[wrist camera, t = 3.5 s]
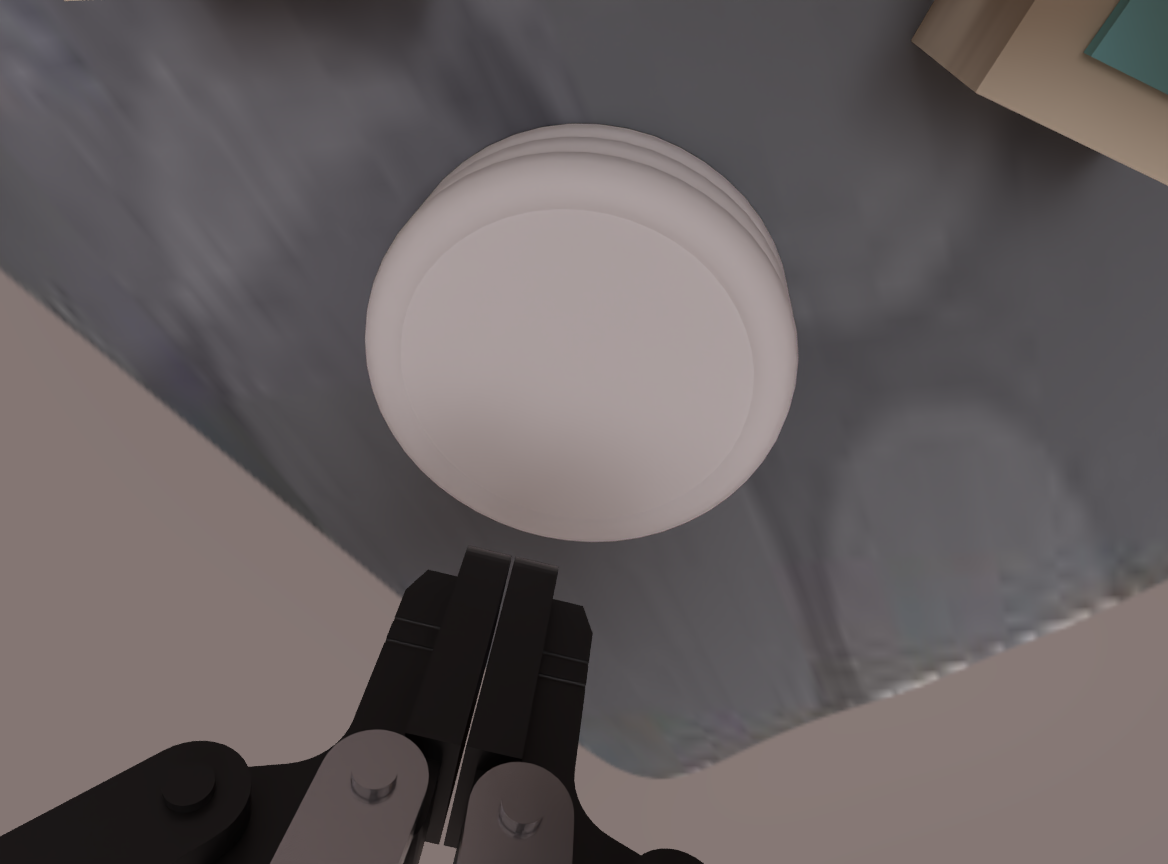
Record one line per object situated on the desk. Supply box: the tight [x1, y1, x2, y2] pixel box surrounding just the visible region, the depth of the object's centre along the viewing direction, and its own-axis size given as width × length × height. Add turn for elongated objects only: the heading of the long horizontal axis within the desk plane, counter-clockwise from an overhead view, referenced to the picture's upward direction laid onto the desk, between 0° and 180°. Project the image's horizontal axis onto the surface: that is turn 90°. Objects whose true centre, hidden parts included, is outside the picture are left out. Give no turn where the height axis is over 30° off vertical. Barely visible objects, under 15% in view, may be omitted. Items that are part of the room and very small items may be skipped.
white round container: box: [365, 124, 798, 542], centre depth 20 cm, size 10×10×4 cm
